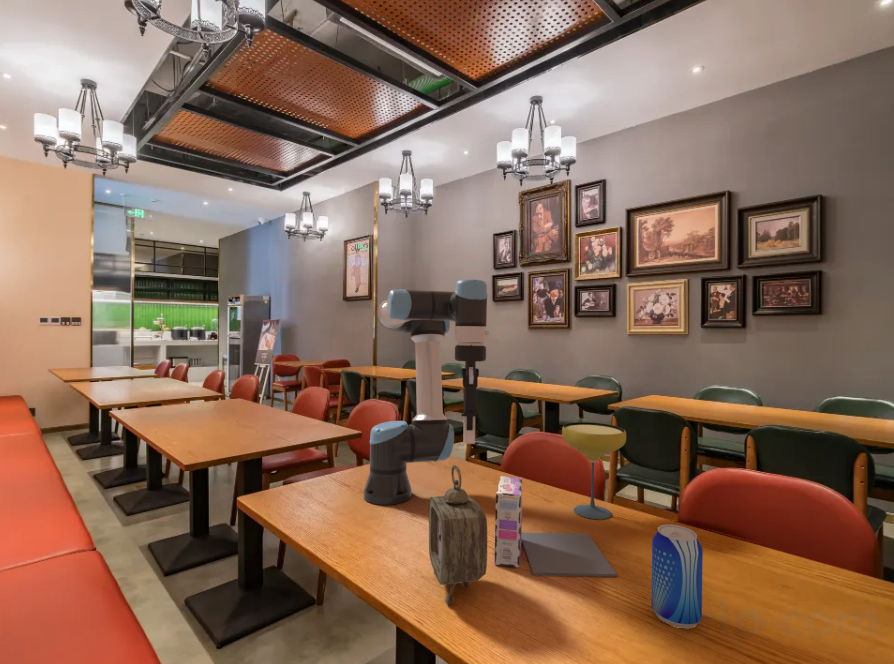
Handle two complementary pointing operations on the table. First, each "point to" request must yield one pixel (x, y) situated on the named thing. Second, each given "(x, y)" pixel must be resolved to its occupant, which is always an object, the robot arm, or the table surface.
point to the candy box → (508, 521)
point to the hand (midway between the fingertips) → (469, 442)
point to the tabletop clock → (457, 537)
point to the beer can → (677, 576)
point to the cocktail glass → (593, 453)
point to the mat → (565, 555)
